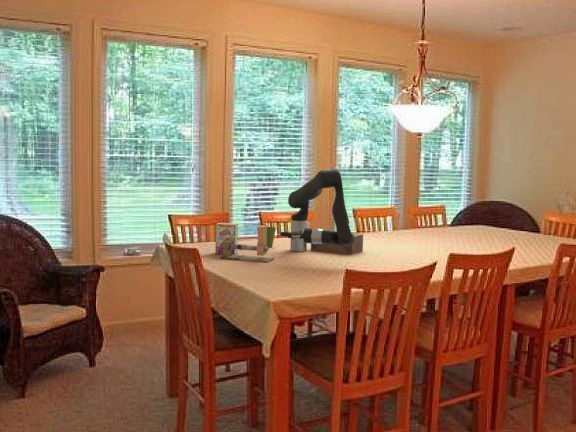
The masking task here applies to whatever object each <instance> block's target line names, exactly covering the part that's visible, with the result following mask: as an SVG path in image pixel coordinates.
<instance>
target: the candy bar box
mask: <svg viewBox="0 0 576 432" xmlns="http://www.w3.org/2000/svg"><path fill="white" fill-rule="evenodd" d="M238 233H239V224H237V223H230V222H229V223H228V222H217V223H216V224H215V254H217V255H218V254H219V255H223V242H225V241H232V244H239V242H238V240H239V239H238V238H239V237H238V236H239V234H238ZM232 255H238V249H232Z"/></svg>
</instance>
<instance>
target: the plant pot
mask: <svg viewBox="0 0 576 432" xmlns="http://www.w3.org/2000/svg"><path fill="white" fill-rule="evenodd" d="M276 230H277V227H275V226H267V247H268V249H269V248H272V247H273V245H274V239H275V233H276ZM256 231H257V232H258V226H257V227H256Z"/></svg>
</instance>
